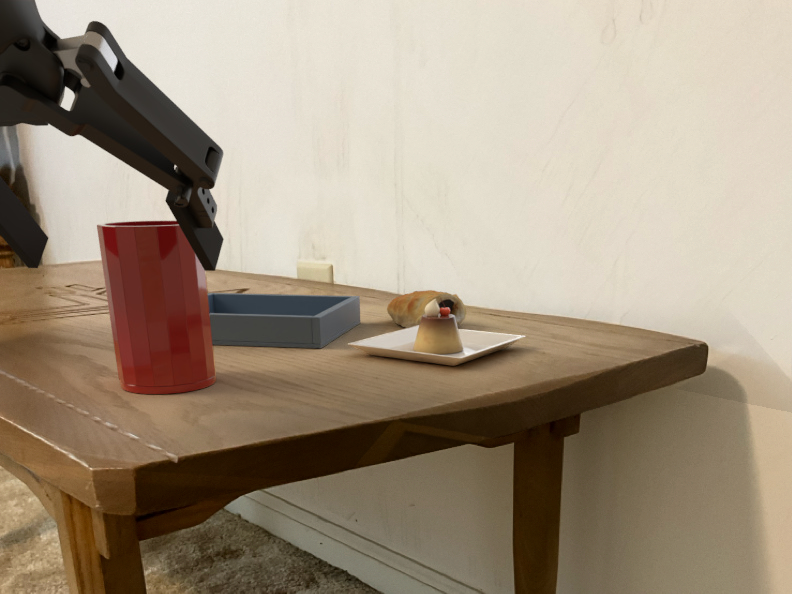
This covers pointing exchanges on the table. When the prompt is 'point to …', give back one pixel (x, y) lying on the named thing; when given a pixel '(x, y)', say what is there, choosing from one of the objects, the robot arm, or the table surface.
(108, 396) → the table surface
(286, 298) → the serving tray
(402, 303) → the pastry
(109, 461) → the table surface
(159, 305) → the cup
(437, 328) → the dessert
